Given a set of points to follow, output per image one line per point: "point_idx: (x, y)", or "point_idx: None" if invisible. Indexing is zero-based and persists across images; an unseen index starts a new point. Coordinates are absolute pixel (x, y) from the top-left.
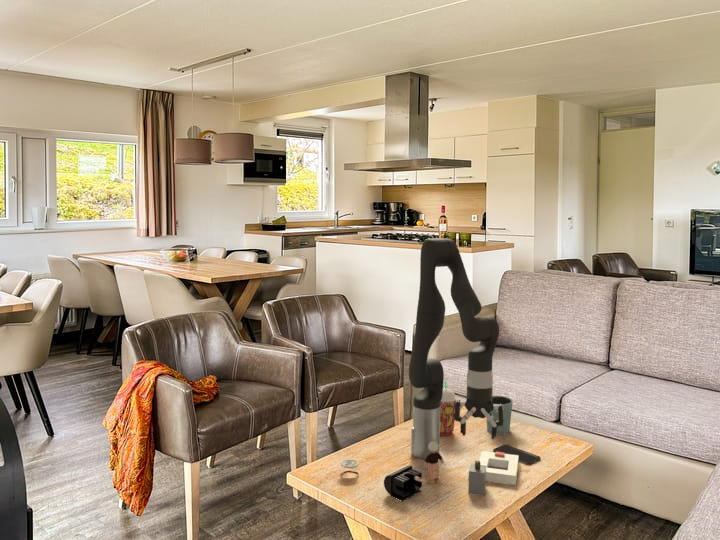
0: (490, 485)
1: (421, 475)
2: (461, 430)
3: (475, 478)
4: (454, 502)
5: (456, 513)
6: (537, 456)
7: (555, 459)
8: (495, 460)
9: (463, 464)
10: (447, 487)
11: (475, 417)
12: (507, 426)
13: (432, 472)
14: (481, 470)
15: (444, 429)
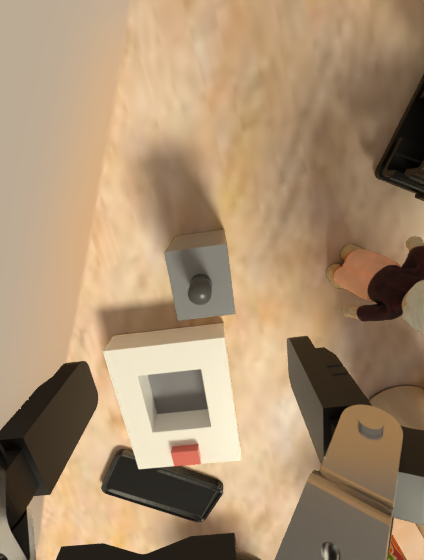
0: None
1: (413, 169)
2: (331, 363)
3: (200, 242)
4: (250, 145)
5: (224, 63)
6: (111, 492)
7: (73, 495)
8: (192, 425)
9: (280, 395)
10: (295, 240)
11: (198, 537)
12: None
13: (365, 260)
14: (181, 271)
15: None
